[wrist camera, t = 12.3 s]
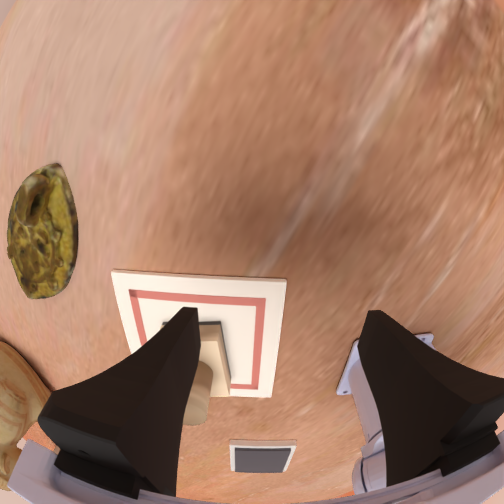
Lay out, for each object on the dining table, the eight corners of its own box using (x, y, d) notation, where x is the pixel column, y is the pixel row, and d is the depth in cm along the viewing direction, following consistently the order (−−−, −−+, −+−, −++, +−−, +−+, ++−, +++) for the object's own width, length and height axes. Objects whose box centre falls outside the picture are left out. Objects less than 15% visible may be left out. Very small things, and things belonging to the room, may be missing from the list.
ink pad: (296, 439, 31) (296, 448, 30) (285, 466, 35) (285, 473, 34) (230, 439, 31) (229, 448, 29) (231, 465, 35) (230, 472, 34)
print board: (285, 278, 21) (286, 282, 20) (271, 393, 26) (271, 397, 26) (113, 269, 21) (110, 272, 20) (143, 381, 26) (141, 385, 26)
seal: (72, 310, 24) (102, 180, 19) (54, 339, 20) (74, 196, 15) (10, 273, 22) (25, 144, 16) (-12, 296, 18) (-9, 154, 12)
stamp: (220, 321, 22) (209, 387, 15) (231, 377, 25) (225, 437, 18) (163, 321, 22) (137, 382, 16) (181, 376, 25) (166, 433, 18)
